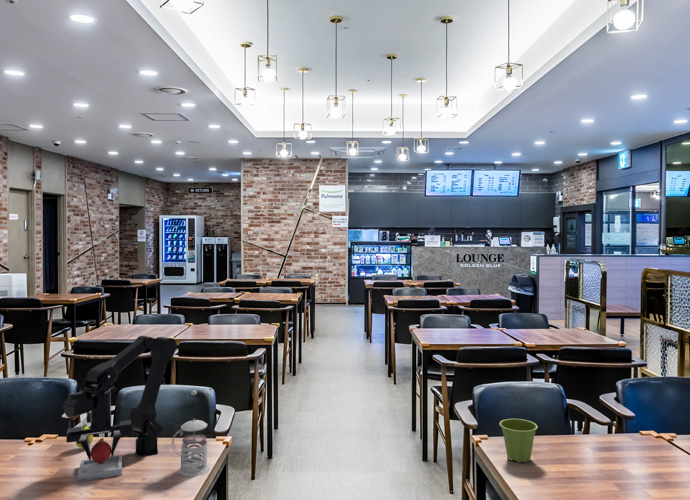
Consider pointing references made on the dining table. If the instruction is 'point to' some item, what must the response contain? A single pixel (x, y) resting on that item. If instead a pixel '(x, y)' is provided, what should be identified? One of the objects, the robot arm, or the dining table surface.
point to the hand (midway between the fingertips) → (101, 458)
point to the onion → (100, 451)
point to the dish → (100, 469)
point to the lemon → (89, 436)
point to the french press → (193, 449)
